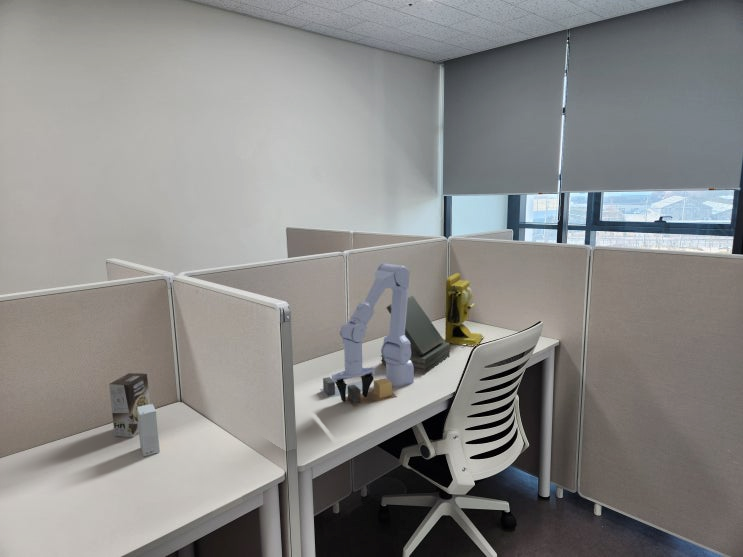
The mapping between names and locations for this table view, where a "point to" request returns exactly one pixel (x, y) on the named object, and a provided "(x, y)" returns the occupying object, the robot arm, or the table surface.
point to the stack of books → (422, 339)
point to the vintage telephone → (458, 312)
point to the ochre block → (382, 388)
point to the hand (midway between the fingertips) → (354, 398)
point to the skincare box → (148, 429)
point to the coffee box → (128, 402)
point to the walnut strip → (358, 399)
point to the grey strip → (332, 390)
